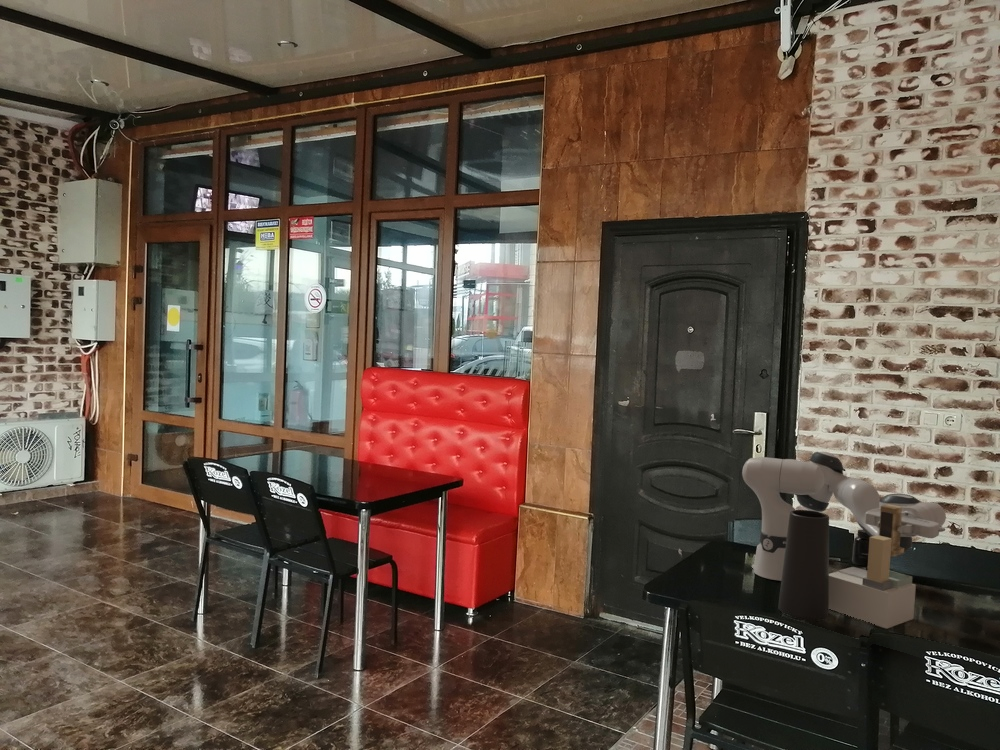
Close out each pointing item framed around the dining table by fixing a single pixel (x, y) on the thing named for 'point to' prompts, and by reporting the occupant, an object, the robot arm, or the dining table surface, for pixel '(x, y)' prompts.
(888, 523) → the block
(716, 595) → the dining table surface
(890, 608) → the grey boxy piece
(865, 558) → the supplement bottle
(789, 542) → the vase
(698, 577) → the dining table surface
